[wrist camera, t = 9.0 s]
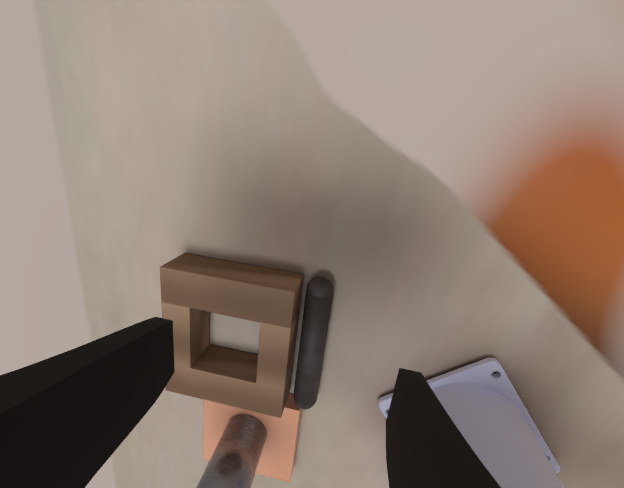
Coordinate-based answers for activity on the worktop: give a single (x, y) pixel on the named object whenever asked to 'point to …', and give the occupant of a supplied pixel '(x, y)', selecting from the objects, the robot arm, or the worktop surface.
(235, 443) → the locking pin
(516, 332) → the worktop surface
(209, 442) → the tile pad
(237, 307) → the clamp block
